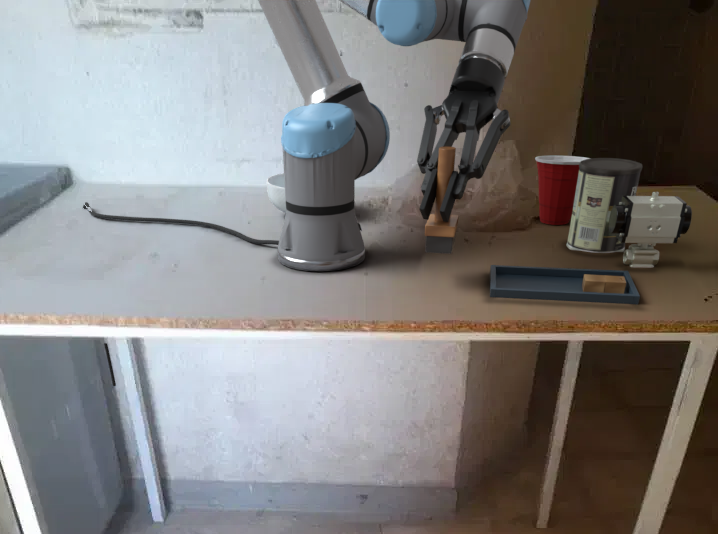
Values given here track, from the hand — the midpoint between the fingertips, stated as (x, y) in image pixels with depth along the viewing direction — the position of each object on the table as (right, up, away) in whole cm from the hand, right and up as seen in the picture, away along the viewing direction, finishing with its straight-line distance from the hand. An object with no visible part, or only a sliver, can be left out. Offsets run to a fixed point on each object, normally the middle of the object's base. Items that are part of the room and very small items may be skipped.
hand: (433, 215), depth 107 cm
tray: (+21, -9, +7) cm, 24 cm away
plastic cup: (+29, +14, +40) cm, 51 cm away
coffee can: (+32, +4, +25) cm, 41 cm away
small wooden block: (+28, -10, +5) cm, 30 cm away
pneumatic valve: (+36, -3, +16) cm, 40 cm away
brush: (+2, -3, +6) cm, 7 cm away
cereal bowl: (-20, +17, +45) cm, 52 cm away
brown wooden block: (+25, -9, +6) cm, 28 cm away
